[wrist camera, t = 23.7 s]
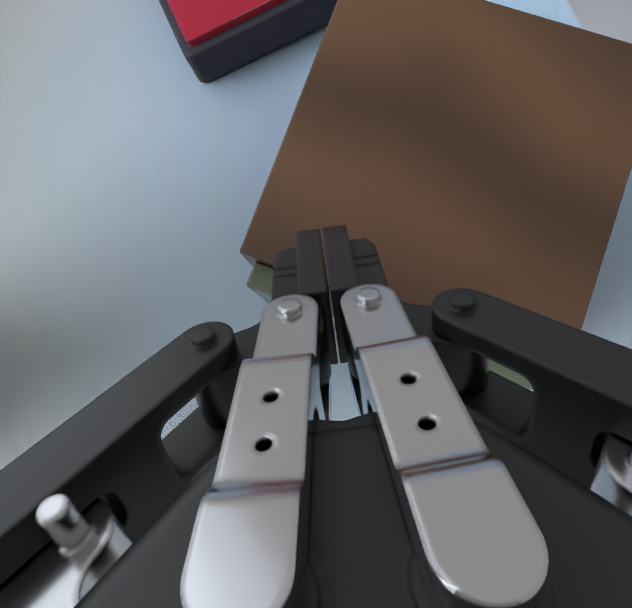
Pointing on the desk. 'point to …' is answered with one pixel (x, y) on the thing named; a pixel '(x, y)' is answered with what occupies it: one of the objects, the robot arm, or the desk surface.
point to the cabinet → (458, 151)
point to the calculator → (239, 29)
